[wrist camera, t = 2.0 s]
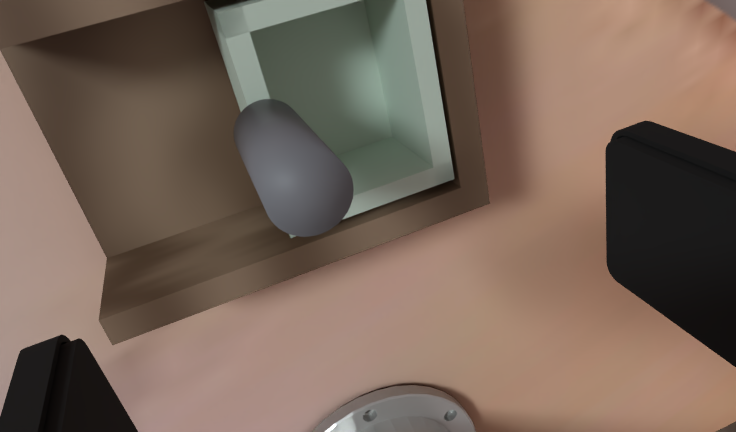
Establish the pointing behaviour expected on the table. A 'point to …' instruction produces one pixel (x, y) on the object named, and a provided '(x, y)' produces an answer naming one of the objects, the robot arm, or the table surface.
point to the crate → (333, 104)
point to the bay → (195, 153)
